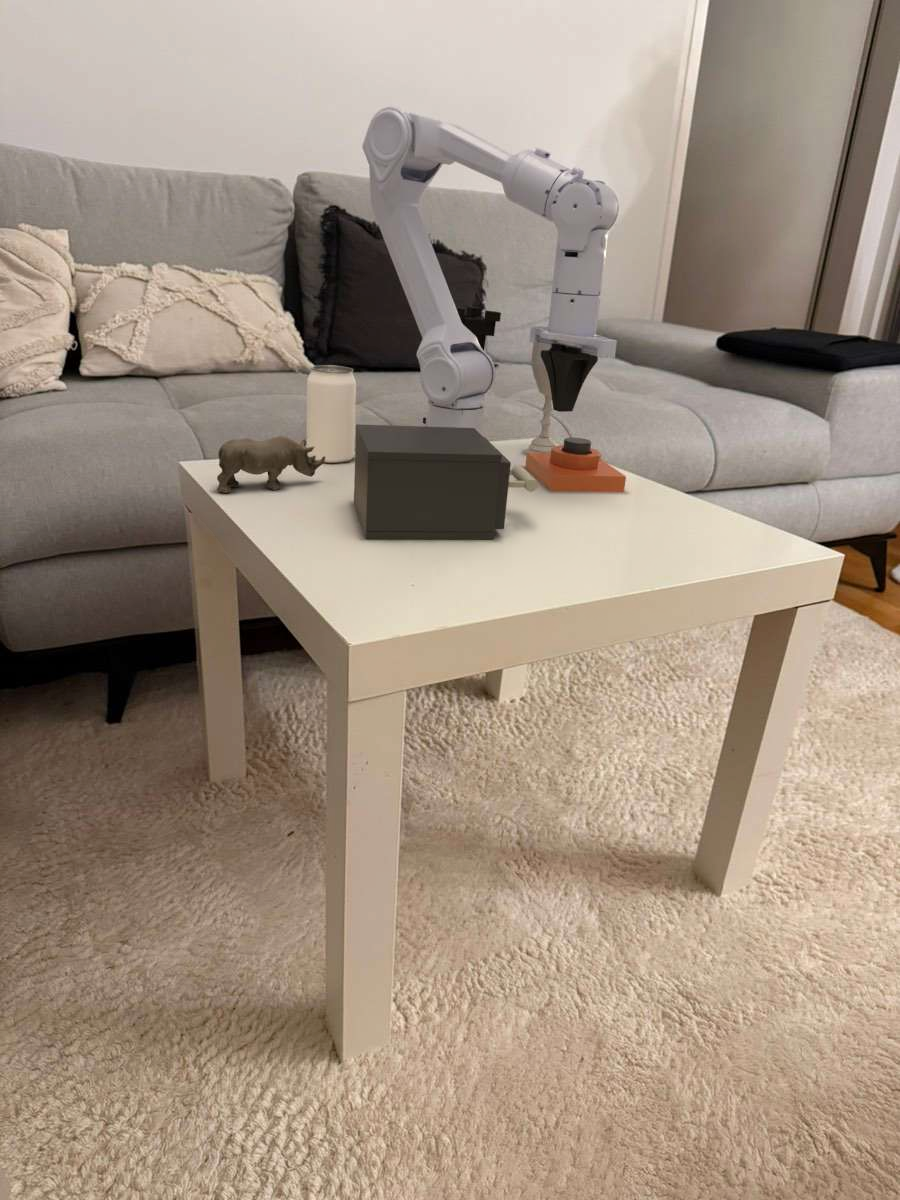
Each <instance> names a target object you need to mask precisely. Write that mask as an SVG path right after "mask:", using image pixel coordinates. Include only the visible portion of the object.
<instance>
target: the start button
mask: <svg viewBox="0 0 900 1200" xmlns="http://www.w3.org/2000/svg"><path fill="white" fill-rule="evenodd" d="M562 445H563V452H566V453H570V454H577V455H587V454H590V448H592V441H591V440H590V439H588V438H584V437H583V438H582V437H572V436H571V437H566V438H564V439H563V444H562Z"/></svg>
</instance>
